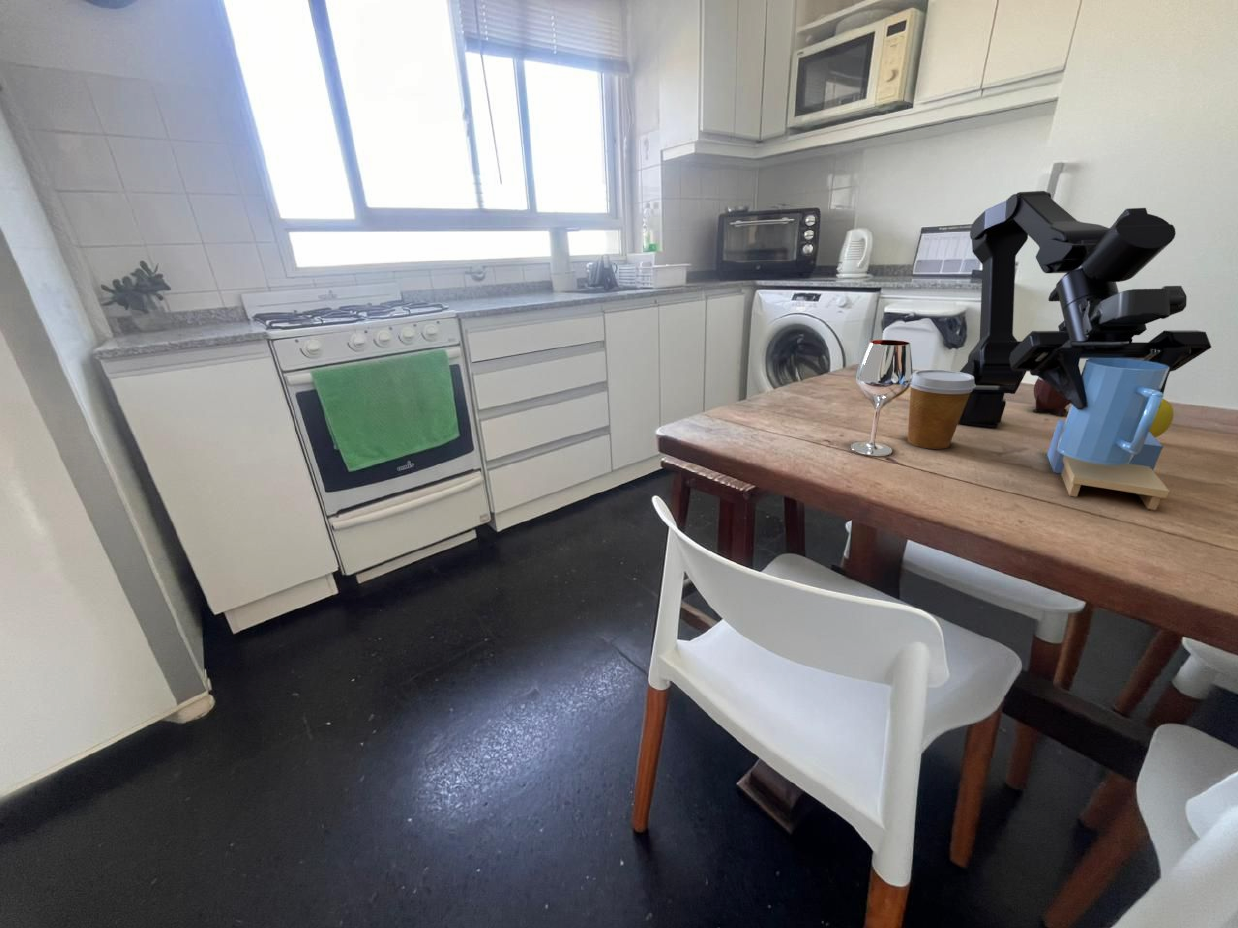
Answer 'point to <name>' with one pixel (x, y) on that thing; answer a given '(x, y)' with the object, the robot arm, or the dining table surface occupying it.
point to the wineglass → (882, 383)
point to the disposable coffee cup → (937, 406)
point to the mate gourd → (1048, 399)
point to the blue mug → (1113, 410)
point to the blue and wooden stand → (1112, 472)
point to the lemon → (1162, 419)
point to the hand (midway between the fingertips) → (1117, 409)
